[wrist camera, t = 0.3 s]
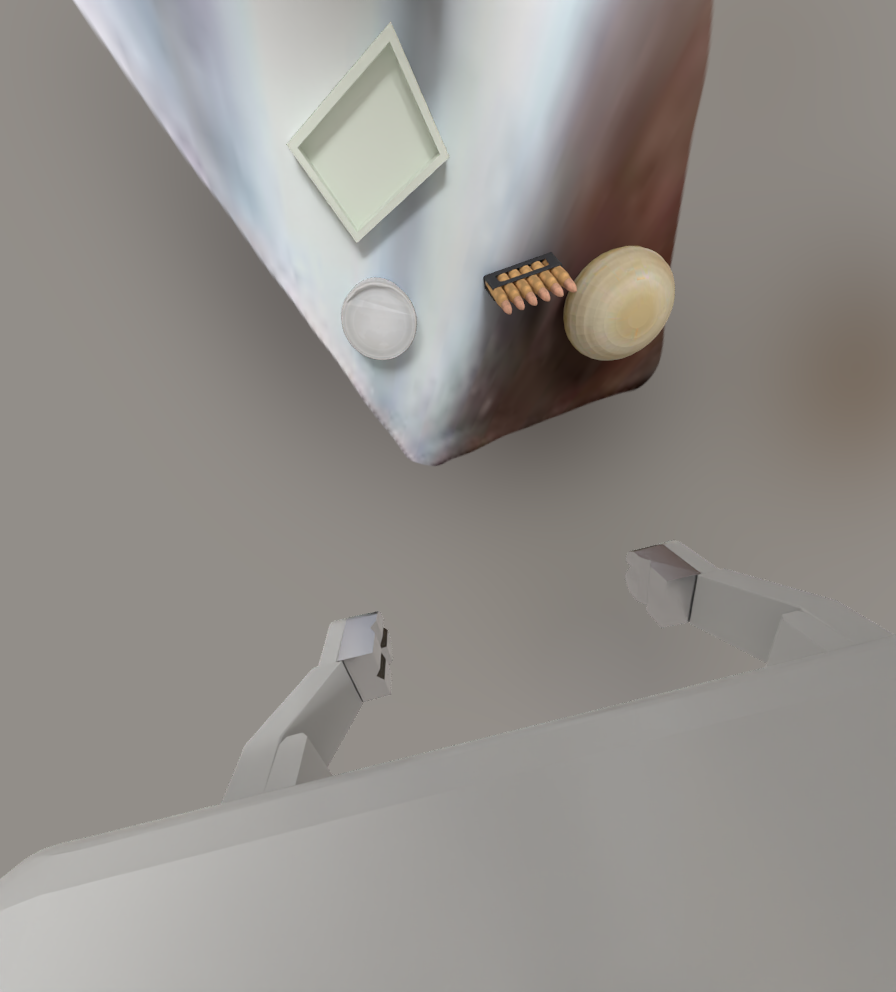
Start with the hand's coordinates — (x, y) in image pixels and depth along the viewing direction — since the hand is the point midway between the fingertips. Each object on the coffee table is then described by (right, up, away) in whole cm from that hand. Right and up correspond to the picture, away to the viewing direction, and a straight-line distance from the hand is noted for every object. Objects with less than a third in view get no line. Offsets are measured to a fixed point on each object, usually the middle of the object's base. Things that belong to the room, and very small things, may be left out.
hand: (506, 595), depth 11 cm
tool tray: (-11, +44, +28) cm, 53 cm away
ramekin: (-13, +33, +42) cm, 55 cm away
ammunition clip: (+9, +38, +40) cm, 56 cm away
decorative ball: (+23, +38, +44) cm, 62 cm away
